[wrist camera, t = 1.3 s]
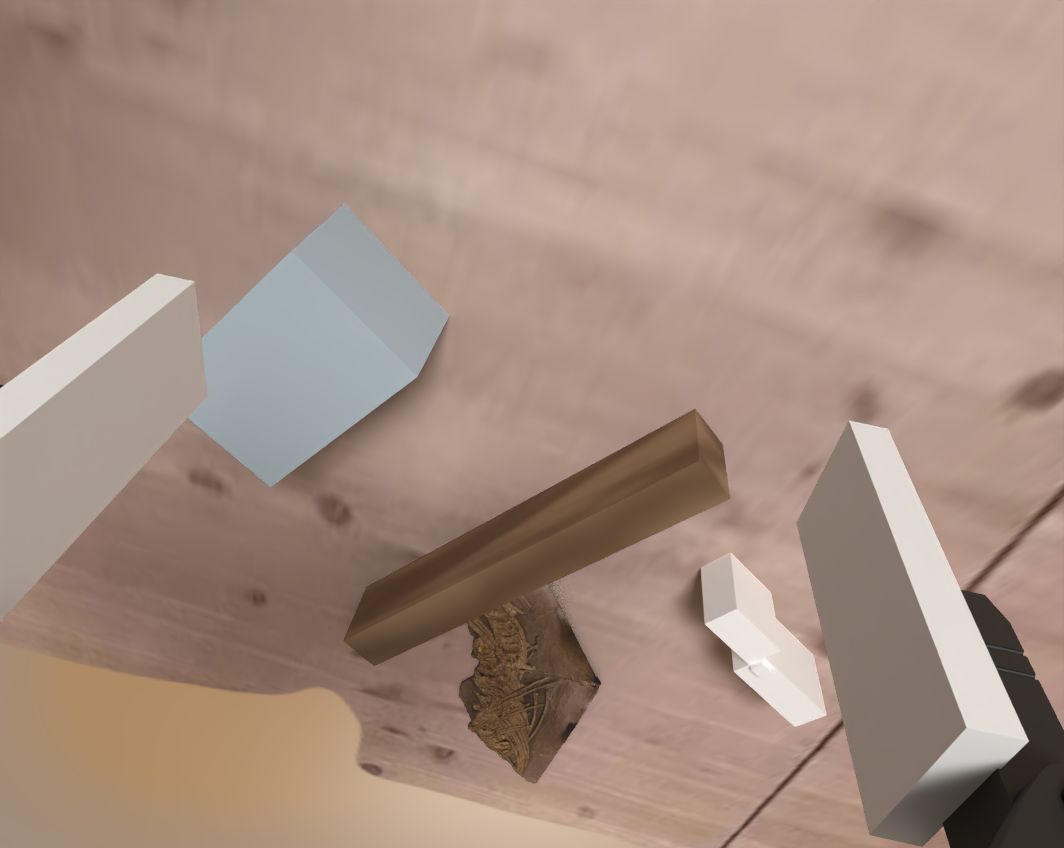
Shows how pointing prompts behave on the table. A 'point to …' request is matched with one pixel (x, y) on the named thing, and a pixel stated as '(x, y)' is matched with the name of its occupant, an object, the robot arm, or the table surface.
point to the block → (314, 348)
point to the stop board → (545, 538)
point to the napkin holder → (760, 641)
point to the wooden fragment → (527, 681)
